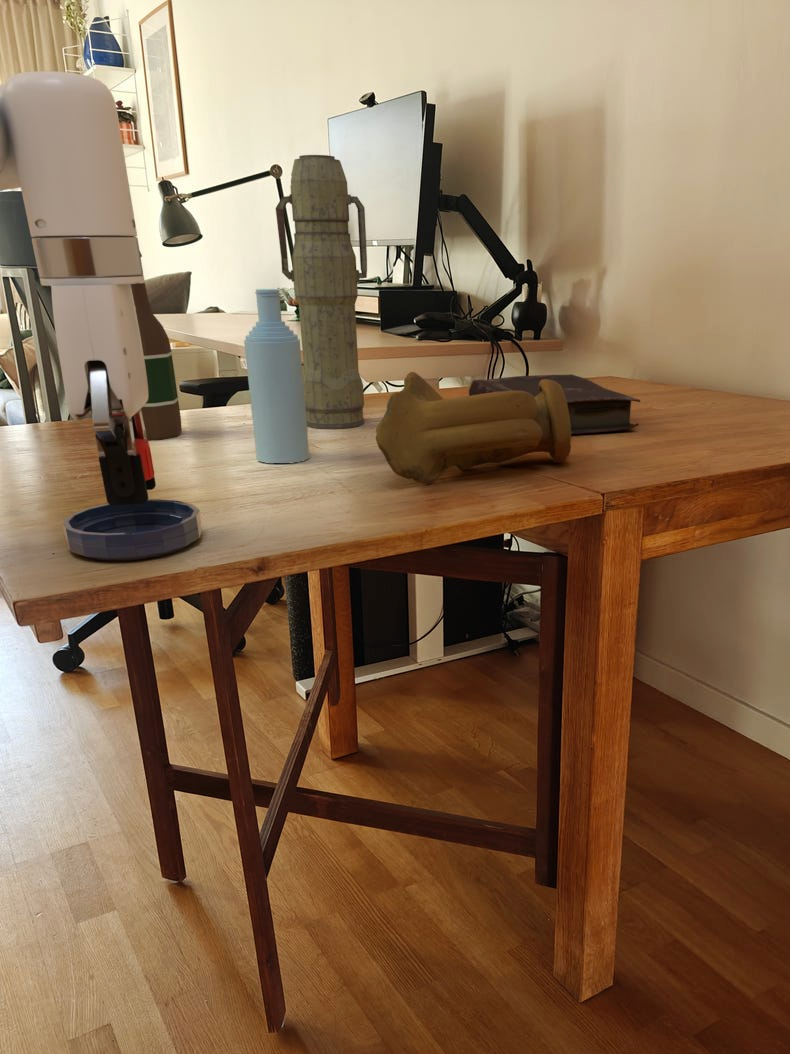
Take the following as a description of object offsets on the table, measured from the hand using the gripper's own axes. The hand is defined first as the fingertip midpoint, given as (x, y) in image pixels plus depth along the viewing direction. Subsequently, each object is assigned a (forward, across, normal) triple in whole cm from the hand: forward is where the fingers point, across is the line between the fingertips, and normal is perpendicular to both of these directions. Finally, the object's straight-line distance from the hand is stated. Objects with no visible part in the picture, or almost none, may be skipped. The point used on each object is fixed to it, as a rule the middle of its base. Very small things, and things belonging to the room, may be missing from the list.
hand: (132, 494), depth 74 cm
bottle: (+5, -32, +12) cm, 35 cm away
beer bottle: (+4, -51, -6) cm, 52 cm away
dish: (+4, 0, 0) cm, 4 cm away
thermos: (+5, -55, +20) cm, 59 cm away
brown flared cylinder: (+5, -20, +34) cm, 40 cm away
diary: (+5, -51, +52) cm, 73 cm away
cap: (-1, 0, 0) cm, 1 cm away
